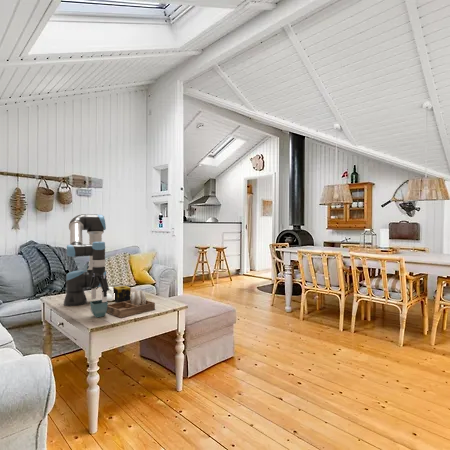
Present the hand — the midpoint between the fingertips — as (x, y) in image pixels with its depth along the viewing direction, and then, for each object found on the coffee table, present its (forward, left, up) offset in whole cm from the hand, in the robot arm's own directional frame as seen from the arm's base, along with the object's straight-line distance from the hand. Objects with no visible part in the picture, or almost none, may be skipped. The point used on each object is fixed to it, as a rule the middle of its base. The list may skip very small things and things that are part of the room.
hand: (98, 300), depth 204 cm
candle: (-25, +31, -10) cm, 41 cm away
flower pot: (0, 0, -10) cm, 10 cm away
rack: (+4, +20, -10) cm, 23 cm away
